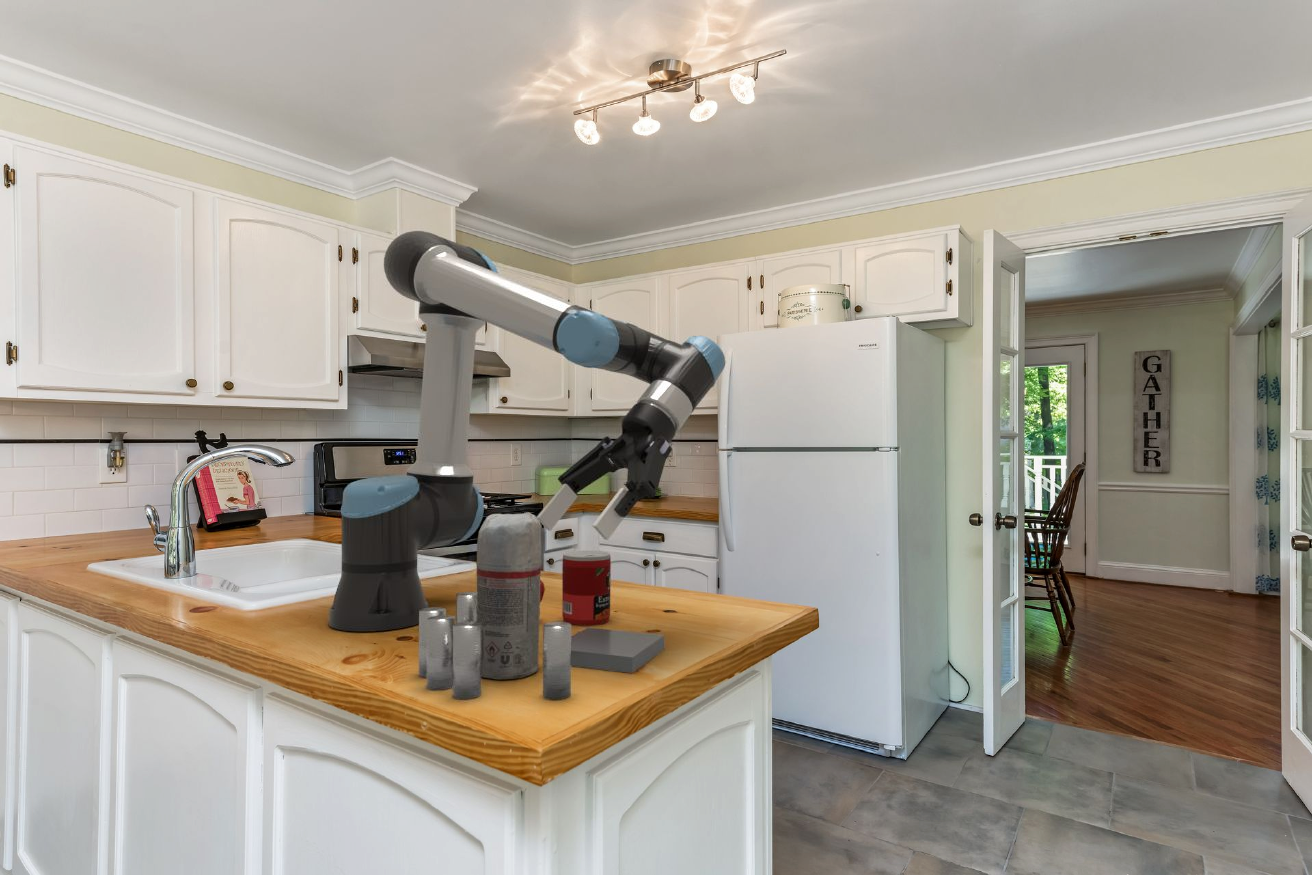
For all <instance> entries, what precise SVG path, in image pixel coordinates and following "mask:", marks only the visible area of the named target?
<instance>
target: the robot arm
mask: <svg viewBox="0 0 1312 875" xmlns="http://www.w3.org/2000/svg"><path fill="white" fill-rule="evenodd" d="M383 271H384V274H385V278H386V279H387V281H388V283H389V284H390V286H391V288H393V290H395V291H396V292H397V293H398V294H400V295H402V296H403V297H405V298H407V299H409V300H412V301H415V302H418V303H419V305H418V306H419V308H418V318H419V319H420V320H421V321H422V322H423V324H424V325H425V327H426V331H425V333H426V334H425V344H424V345H425V346H424V360H423V372H422V383H421V384H422V386H421V398H420V409H419V410H420V412H419V424H418V425H419V426H418V436H417V437H418V438H417V439H418V440H417V452H416V460H415V462H414V463H413V464H412V465H411V466H409V467H408V468H407V469H406V474H404V475H403V474H399V475H385V476H375V477H374V476H373V477H368V478H363V479H359V480H356V481H353V482H350V483H348V484H347V486H345V488H344V489H343V491H342V502H341V503H342V504H341V508H340V513H341V572H340V574H341V575H340V579H339V582H338V584H337V588H336V591H335V595H334V598H333V602H332V605H331V606H330V609H329V611H328V626H329V627H331V628H332V629H335V630H341V631H345V632H347V631H348V632H379V631H389V630H397V629H403V628H408V627H412V626H416V625H419V610H421V609H424V608H429V604H428V601H427V600H426V598H425V593H424V590H423V585H422V583H421V580H420V576H419V573H418V552H419V551H420V550H426V549H431V548H437V547H448V546H452V545H455V544H457V543H460V542H463V541H465V540H468V538H471V536H472V535H474V533H475V532H476V531H477V529H478V528H479V527H480V524H481V522H482V520H483V516H484V510H485V509H484V508H485V507H484V505H485V504H484V499H483V496H482V494H480V492H479V491H480V490H479V489H478V487H477V486H476V485H475V484H474V475H475V474H474V472H473V471H472V470H471V468H469V466H468V465H467V453H468V440H469V428H470V414H471V401H472V400H471V399H472V390H473V376H474V363H475V352H476V339H477V338H476V337H477V332H478V331H479V330H481V329H482V328H483V327H484V326H485V325H486V323H488V324H491V325H493V326H495V327H498V328H500V329H502V330H504V331H507V332H510V333H511V334H513V335H516V336H519V337H521V338H523V339H525V340H527V341H530V342H531V343H534V344H537V345H539V346H542V347H544V348H546V349H549V350H550V351H553V352H555V353H558V354H561V356H563V357H564V358H565V359H566V360H568V362H571V363H572V364H573V363H574V364H575V365H577V366H581V367H584V368H587V369H598V370H603V371H609V372H613V373H615V374H616V373H617V374H622V375H626V376H629V377H632V378H634V379H637V380H639V381H642V382H643V383H644V382H645V383H646V384H649V386H648V387H647V389H646V390H645V391H644V392H643V393H642V394H641V395H640V396H639V398H638V400H637V401H636V403H635V404H634V405H633V406H632V407H631V408H630V409H629V411H628V412H627V413H626V415H625V416H624V417H623V419H622V420H621V430H622V431H621V435H619V437H617V438H615V440H612V439H611V438H610V437H609V436H605V437H603V438H602V439H601V440H600V442H598V444H597V445H596V446H595V447H593V448H592V449H591V450H589V451H588V453H587V454H585V455H584V456H583V457H582V458H580V459H579V460H578V461H576V462H575V463H574V464H573V465H571V466H570V467H568V469H566V471H564V472H563V473H562V474H560V476H559V477H557V480H558V482H559V483H560V484H561V486H560V488H559V489H558V491H556V493H555V494H554V495H553V497H552V498H551V499H550V500H549V501H548V503H547V504H545V506H544V508H542V510H541V511H540V512H539V513H538V515H537V516H536V517H537V518H538V519H539V521H540V522H541V525H543V527H544V528H545V529H546V530H548V531H552V530H553V529H554V527H555V526H556V525H557V524H558V523H559V521H560V520H561V518H562V517H563V516H564V514H566V512H567V511H568V509H569V508H570V507H571V506H572V505H573V503H574V502H575V501H576V500H577V499H578V498H579V495H578V493H579V492H581V491H582V490H584V489H585V488H587V487H588V486H590V485H591V484H593V483H595V482H596V481H597V480H600V479H601V478H602V477H604V476H605V475H607V474H608V473H613V474H614V473H615V472H617V471H619V470H622V469H627V474H626V475H627V477H626V478H627V479H626V481H625V482H624V483H623V485H624V486H625V487H626V488H627V489H626V488H625V487H620V488H619V490H618V491H617V493H615V495H614V496H613V497H612V499H611V500H610V502H609V503H608V504H607V506H606V507H605V508H604V510H602V512H601V513H600V514H599V516H598V517H597V519H595V521H594V522H593V523H592V527H593V528H594V529H595V530H596V532H597V533H598V534H599V535H600V536H601V538H602V539H604V540H606V541H609V539H610V538H611V536H612V535H613V534H614V533H615V531H616V530H617V529H618V527H619V526H620V525H621V523H622V521H623V520H624V519H625V517H627V516H628V515H629V513H630V512H631V510H632V509H633V508H634V506H636V504H637V502H640V501H643V500H644V499H645V497H647V498H649V499H652V498H654V497H655V496H656V495H657V492H658V490H659V489H658V488H659V484H660V482H661V478H662V474H663V471H664V467H665V464H666V462H667V461H666V460H667V459H668V457H669V455H670V454H671V453H672V450H673V448H672V447H671V445H670V443H671V442H672V440H673V439H674V437H676V434H677V433H678V432H679V431H680V429H681V428H682V427H683V426H684V424H685V422H686V421H687V420H688V419H689V417H690V415H692V414H693V413H694V411H695V409H696V408H697V406H698V405H699V404H700V402H702V400H703V399H704V398H705V396H706V395H707V393H709V391H710V390H711V389H712V388H713V387H714V386H715V384H716V382H717V380H718V378H719V377H720V375H721V374H722V373H723V371H724V369H725V366H726V363H727V362H726V357H725V353H724V351H723V350H722V349H721V347H720V346H719V345H718V344H717V343H716V342H715V341H714V340H712V339H711V338H709V337H707V336H704V335H691V336H690V337H688V338H687V339H686V340H685V341H684V342H683V343H678V342H676V341H673V340H670V339H669V340H668V339H666V338H664V337H661V336H659V335H658V334H655V333H652V332H651V331H647V330H646V329H642V328H641V327H638V326H637V325H635V324H631V323H629V322H624V321H623V320H618V319H613V318H611V317H608V316H606V315H603V314H602V313H601V314H600V313H598V312H596V311H593V310H590V309H588V308H585V307H582V306H580V305H577V304H575V303H573V302H570V301H567V300H565V299H564V298H560V297H558V296H555V295H553V294H550V293H548V292H545V291H544V290H541V289H538V288H535V287H533V286H530V285H527V284H525V283H522V282H520V281H519V280H515V279H513V278H510V277H508V276H505V275H502V274H501V273H499V271H498V269H497V266H496V265H495V264H494V263H493V261H492V260H491V259H490V258H489V257H488V256H486V255H485V254H483V253H482V252H479V251H478V250H477V249H475V248H474V247H470V246H466V245H463V244H460V243H457V242H455V241H452V240H449V239H447V238H444V237H441V236H439V235H437V234H436V233H432V232H430V231H429V232H428V231H424V230H423V231H422V230H412V231H411V230H410V231H407V232H405V233H401V234H400V235H398V236H397V237H395V238H394V239H393V240H392V241H391V242H390V244H389V245H388V246H387V249H386V250H385V254H384V258H383Z"/></svg>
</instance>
